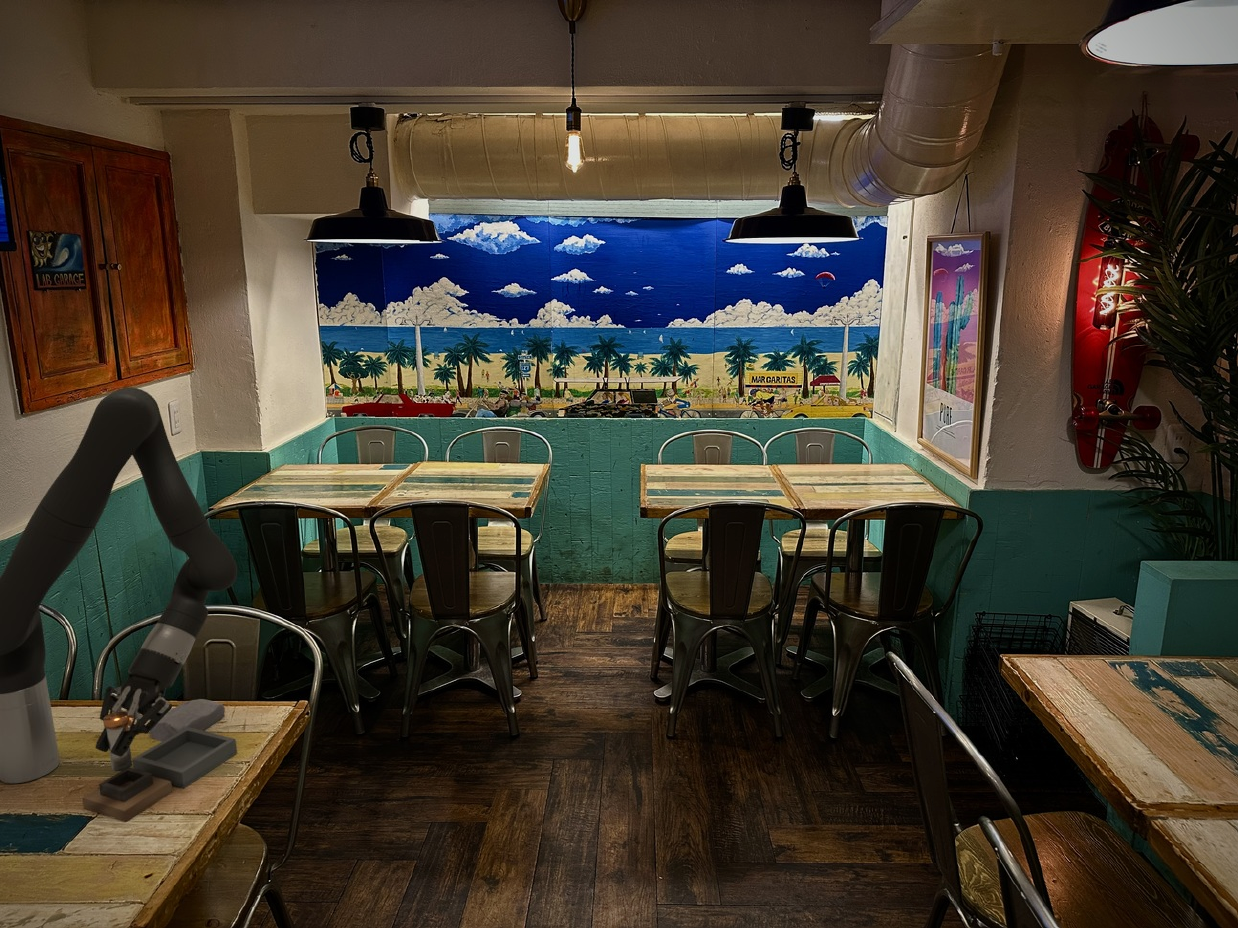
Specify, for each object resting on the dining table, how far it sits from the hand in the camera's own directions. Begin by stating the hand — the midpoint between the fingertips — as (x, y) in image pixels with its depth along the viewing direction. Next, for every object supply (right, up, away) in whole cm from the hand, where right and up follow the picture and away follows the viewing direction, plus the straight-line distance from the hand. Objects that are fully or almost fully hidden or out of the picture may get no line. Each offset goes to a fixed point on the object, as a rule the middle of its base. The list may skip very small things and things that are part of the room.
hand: (108, 752), depth 145 cm
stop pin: (+1, -3, +3) cm, 4 cm away
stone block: (-1, -5, +28) cm, 29 cm away
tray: (+6, -7, +15) cm, 17 cm away
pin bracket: (+1, -10, +4) cm, 10 cm away
